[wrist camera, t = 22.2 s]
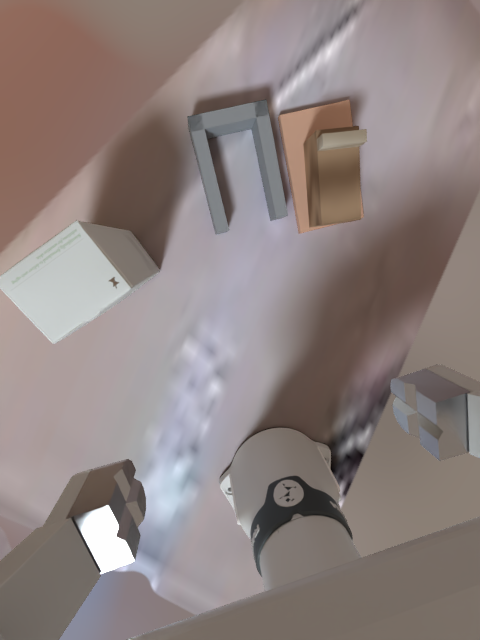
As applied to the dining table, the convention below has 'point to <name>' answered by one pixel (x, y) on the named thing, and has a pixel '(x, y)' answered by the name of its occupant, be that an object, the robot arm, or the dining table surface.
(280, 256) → the dining table surface
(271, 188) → the frame
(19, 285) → the skincare box
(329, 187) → the walnut block
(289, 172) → the rubber pad
